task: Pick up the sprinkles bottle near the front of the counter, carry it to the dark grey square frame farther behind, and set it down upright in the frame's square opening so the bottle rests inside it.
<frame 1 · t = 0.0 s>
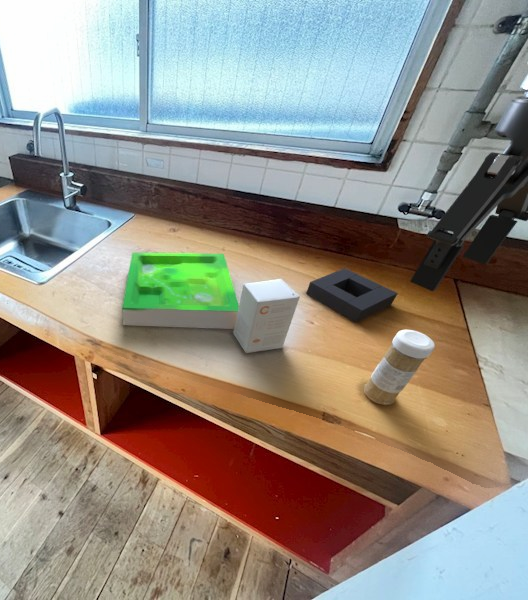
hand: (449, 272, 45), 22 cm above the worktop, tool pointing down, fingers open, 13 cm apart
dark grey square frame: (347, 299, 77), on the worktop
small box: (256, 341, 67), on the worktop
sprinkles bottle: (377, 395, 55), on the worktop
tray: (177, 294, 81), on the worktop
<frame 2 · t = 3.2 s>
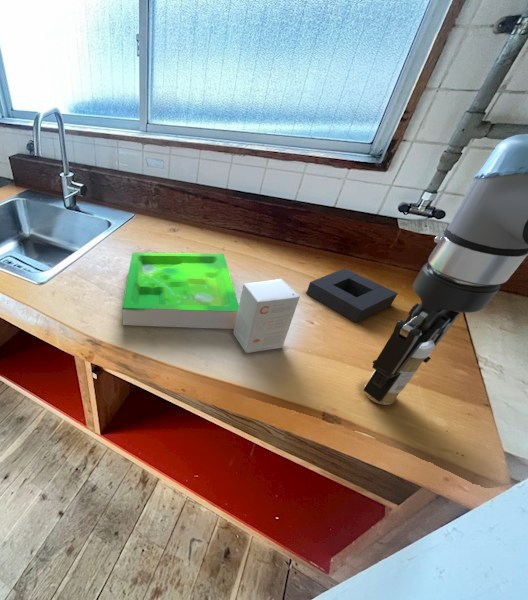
hand: (382, 388, 54), 2 cm above the worktop, tool pointing down, fingers closed on sprinkles bottle, 4 cm apart
sprinkles bottle: (377, 395, 55), on the worktop, touching gripper
everything else where it was.
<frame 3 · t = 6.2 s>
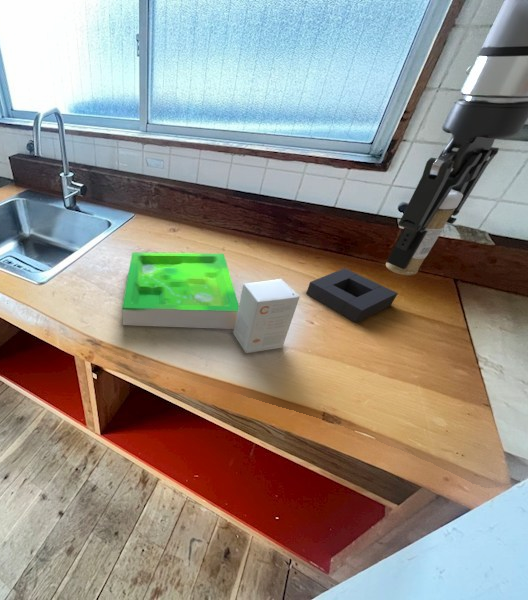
hand: (405, 260, 54), 19 cm above the worktop, tool pointing down, fingers closed on sprinkles bottle, 4 cm apart
sprinkles bottle: (399, 270, 55), point 17 cm above the worktop, touching gripper
everything else where it was.
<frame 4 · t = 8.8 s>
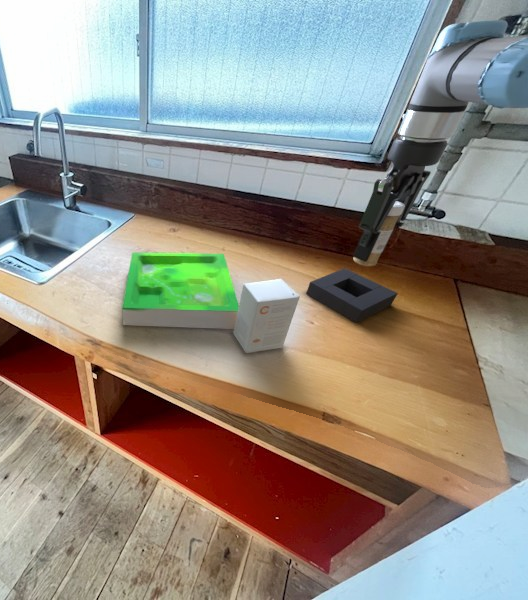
hand: (367, 255, 70), 12 cm above the worktop, tool pointing down, fingers closed on sprinkles bottle, 4 cm apart
sprinkles bottle: (363, 262, 71), point 10 cm above the worktop, touching gripper
everything else where it was.
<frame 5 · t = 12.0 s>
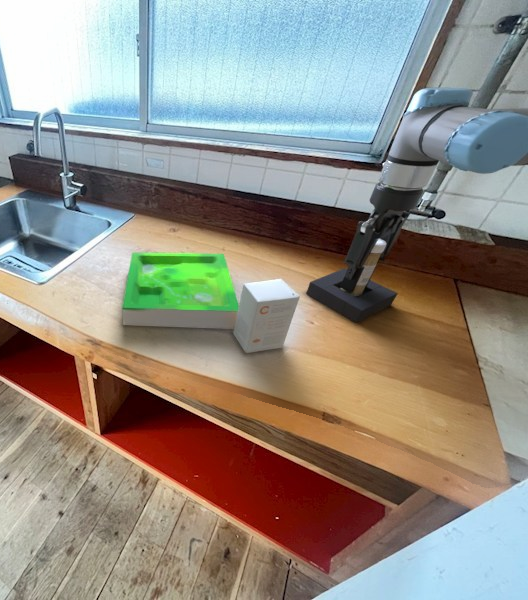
hand: (353, 286, 75), 4 cm above the worktop, tool pointing down, fingers closed on sprinkles bottle, 4 cm apart
sprinkles bottle: (350, 292, 76), point 2 cm above the worktop, touching gripper
everything else where it was.
when the fingers open (5 cm above the worktop, at t = 14.6 s): sprinkles bottle drops 3 cm, resting in dark grey square frame.
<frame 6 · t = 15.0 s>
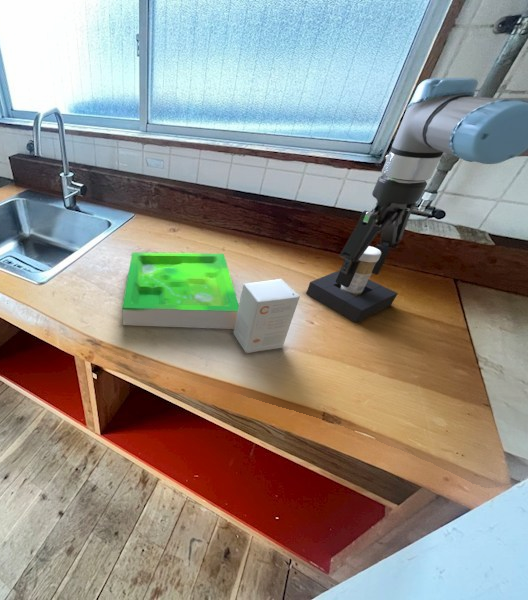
hand: (357, 277, 73), 6 cm above the worktop, tool pointing down, fingers open, 10 cm apart
sprinkles bottle: (346, 300, 77), resting in dark grey square frame
everything else where it was.
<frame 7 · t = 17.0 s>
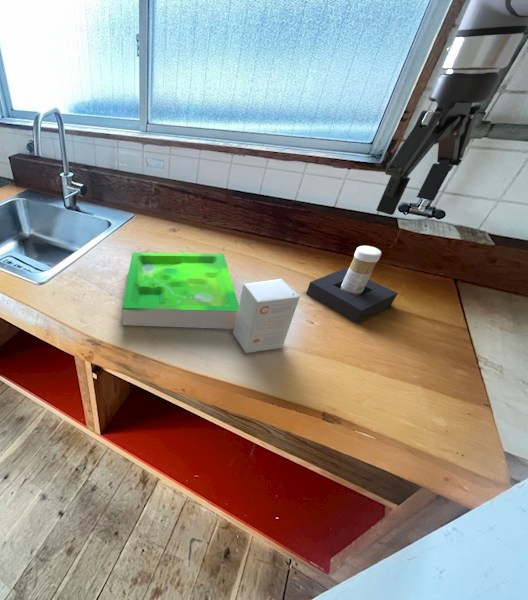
hand: (405, 205, 62), 23 cm above the worktop, tool pointing down, fingers open, 13 cm apart
nothing on the worktop moved.
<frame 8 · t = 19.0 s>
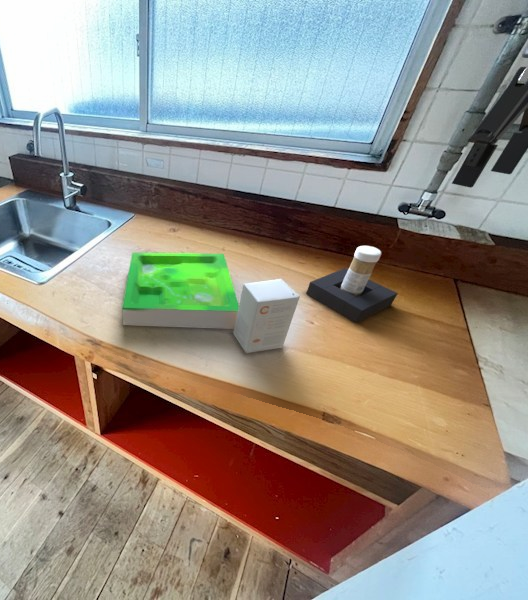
hand: (482, 178, 57), 29 cm above the worktop, tool pointing down, fingers open, 13 cm apart
nothing on the worktop moved.
at the end: sprinkles bottle 0.3 cm off-centre in the dark grey square frame, point 0.0 cm above the dark grey square frame's base; sprinkles bottle tilted 0°; the gripper is holding nothing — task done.
